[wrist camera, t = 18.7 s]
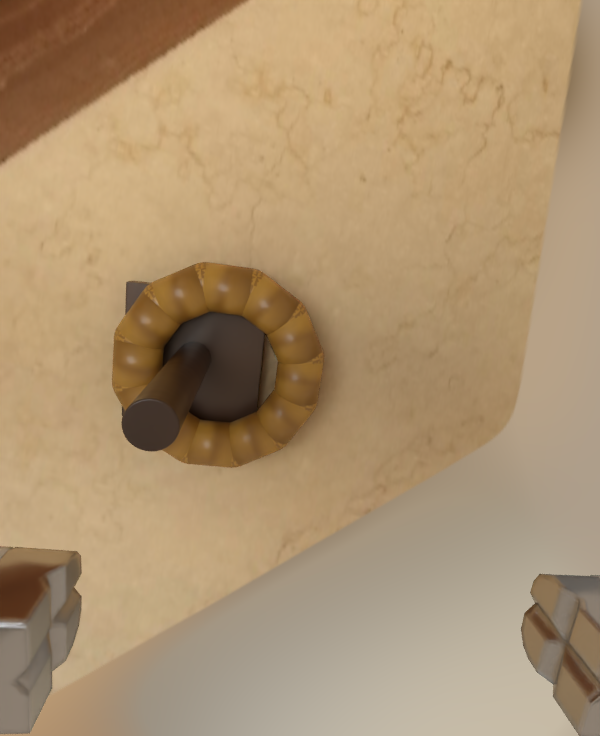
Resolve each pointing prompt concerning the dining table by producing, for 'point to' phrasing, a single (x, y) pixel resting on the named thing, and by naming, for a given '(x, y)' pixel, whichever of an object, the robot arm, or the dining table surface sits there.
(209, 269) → the ring
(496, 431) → the dining table surface
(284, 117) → the dining table surface
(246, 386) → the post
